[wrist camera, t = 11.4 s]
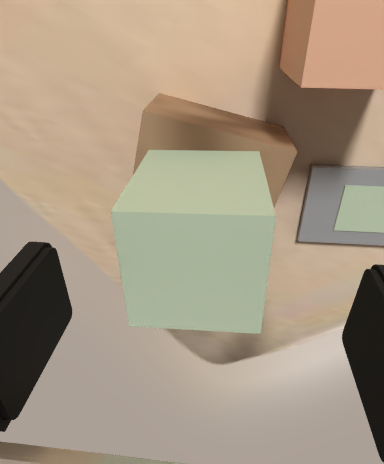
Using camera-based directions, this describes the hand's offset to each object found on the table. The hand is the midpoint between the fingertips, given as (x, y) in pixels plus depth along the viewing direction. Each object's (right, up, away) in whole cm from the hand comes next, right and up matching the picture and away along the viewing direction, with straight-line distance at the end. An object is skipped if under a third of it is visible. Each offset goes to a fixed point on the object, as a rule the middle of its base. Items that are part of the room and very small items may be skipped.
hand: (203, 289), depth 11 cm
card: (+10, +3, +10) cm, 15 cm away
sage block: (0, +3, +6) cm, 7 cm away
